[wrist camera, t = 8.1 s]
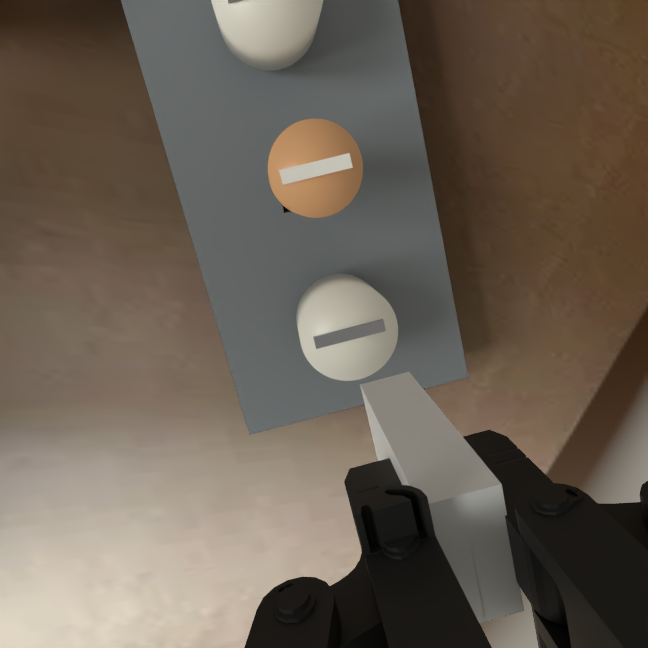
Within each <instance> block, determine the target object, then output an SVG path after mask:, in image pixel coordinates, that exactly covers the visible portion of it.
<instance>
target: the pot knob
mask: <svg viewBox="0 0 648 648" xmlns="http://www.w3.org/2000/svg"><path fill="white" fill-rule="evenodd" d="M268 177H269V182H270V186H271V189H272V191H273V193H274V195H275V197H276V198H277V200H278V201H279V202H280V203H281V204H282V205H283V206H284V207H285V208H287V209H288V210H290V211H292V212H294V213H296V214H299V215H301V216H305V217H310V218H322V217H327V216H330V215H333V214H335V213H337V212H339V211H341V210H342V209H344V208H345V207H346V206H347V205H348V204H349V203H350V202H351V201H352V200H353V198H354V197H355V195H356V194H357V192H358V190H359V187H360V185H361V181H362V177H363V161H362V156H361V152H360V150H359V147H358V145H357V143H356V142H355V140H354V139H353V137H352V136H351V135H350V134H349V133H348V132H347V131H346V130H345V129H344V128H342V127H341V126H339V125H338V124H336V123H334V122H331V121H328V120H324V119H306V120H302V121H299V122H296V123H294V124H292V125H291V126H289V127H288V128H286V129H285V130H284V131H283V132H282V133H281V134H280V135H279V136H278V138H277V139H276V141H275V142H274V144H273V146H272V148H271V151H270V154H269V159H268Z"/></svg>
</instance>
